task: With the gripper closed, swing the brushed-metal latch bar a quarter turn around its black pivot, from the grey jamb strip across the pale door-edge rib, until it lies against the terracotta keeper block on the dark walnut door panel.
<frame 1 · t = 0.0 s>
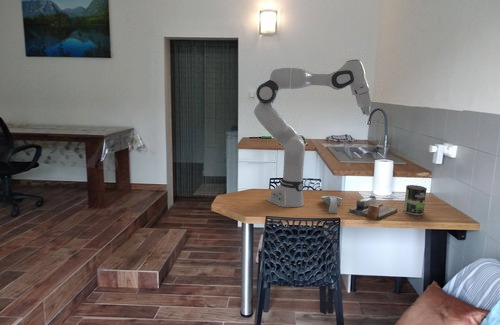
hand: (366, 114, 201), 52 cm above the table, tool tilted 20°, fingers open, 8 cm apart
coffee can: (413, 212, 206), on the table
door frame: (373, 211, 205), on the table
latch bar: (366, 201, 207), point 5 cm above the table, hinge at 0.0°
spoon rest: (331, 207, 211), on the table
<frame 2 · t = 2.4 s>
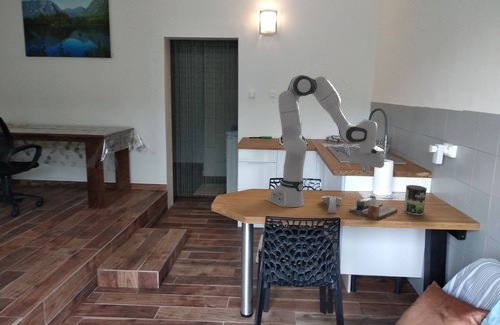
hand: (364, 172, 212), 19 cm above the table, tool pointing down, fingers closed
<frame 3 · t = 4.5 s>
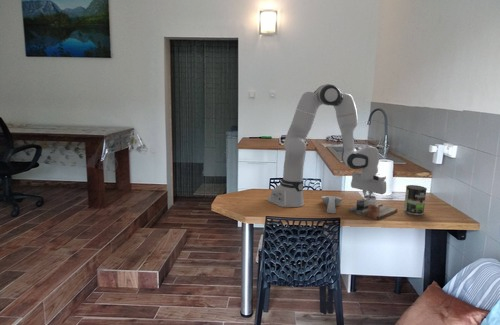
hand: (366, 198, 213), 5 cm above the table, tool pointing down, fingers closed
latch bar: (366, 201, 207), point 5 cm above the table, hinge at 0.0°, touching gripper
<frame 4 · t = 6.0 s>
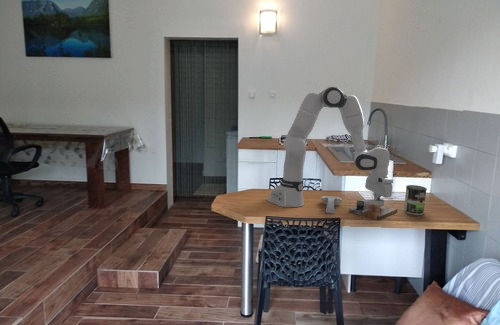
hand: (376, 200, 209), 5 cm above the table, tool pointing down, fingers closed
latch bar: (369, 202, 204), point 5 cm above the table, hinge at 26.0°, touching gripper
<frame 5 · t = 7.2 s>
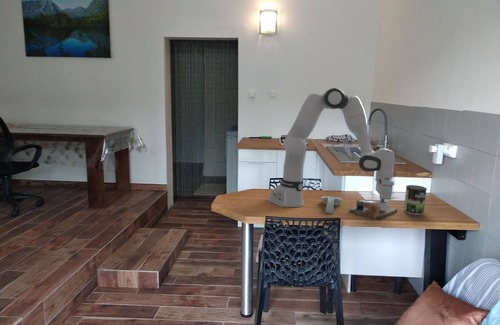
hand: (381, 203, 205), 5 cm above the table, tool pointing down, fingers closed
latch bar: (371, 203, 202), point 5 cm above the table, hinge at 45.4°, touching gripper
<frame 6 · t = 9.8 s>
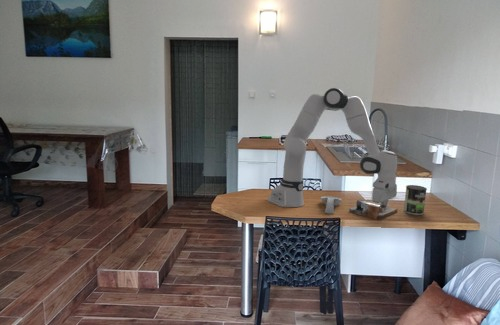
hand: (383, 207, 196), 5 cm above the table, tool pointing down, fingers closed
latch bar: (370, 206, 198), point 5 cm above the table, hinge at 89.5°, touching gripper
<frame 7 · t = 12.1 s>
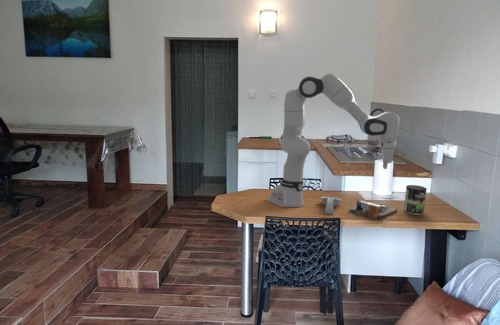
hand: (384, 168, 201), 24 cm above the table, tool pointing down, fingers closed
latch bar: (370, 206, 198), point 5 cm above the table, hinge at 89.7°
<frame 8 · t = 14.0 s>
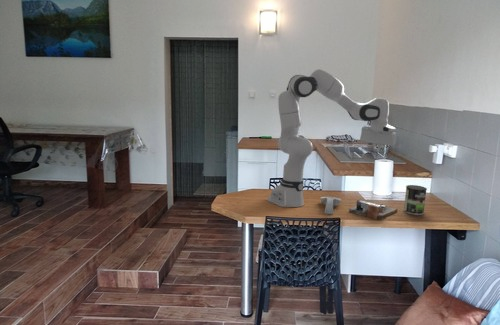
hand: (376, 151, 212), 31 cm above the table, tool pointing down, fingers closed
at the end: latch bar at +90° (first picture: +0°); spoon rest moved 2.6 cm from its start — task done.
